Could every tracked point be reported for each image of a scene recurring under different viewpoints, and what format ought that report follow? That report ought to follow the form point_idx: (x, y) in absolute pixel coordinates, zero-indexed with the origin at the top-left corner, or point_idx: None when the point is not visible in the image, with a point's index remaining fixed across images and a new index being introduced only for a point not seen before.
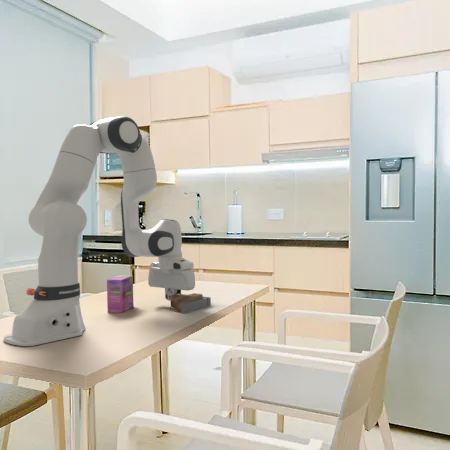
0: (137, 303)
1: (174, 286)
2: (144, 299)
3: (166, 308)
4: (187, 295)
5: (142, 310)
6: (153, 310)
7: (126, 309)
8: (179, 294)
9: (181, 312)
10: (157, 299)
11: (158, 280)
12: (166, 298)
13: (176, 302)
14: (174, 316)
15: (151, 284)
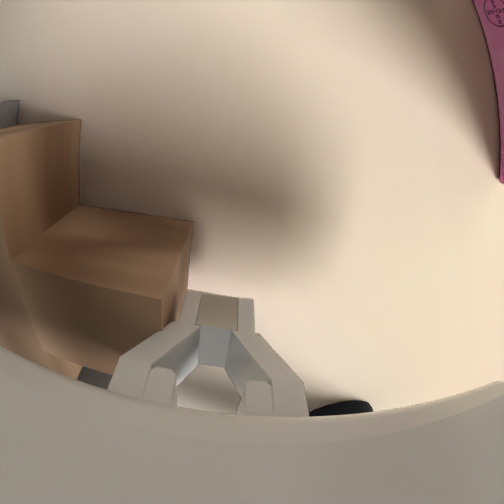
0: (488, 272)
1: (30, 401)
2: (460, 351)
3: (216, 183)
4: (24, 328)
5: (399, 52)
6: (299, 64)
7: (493, 56)
8: (113, 361)
9: (13, 101)
10: (403, 377)
11: (446, 494)
12: (361, 401)
13: (7, 132)
14: (24, 11)
15: (501, 400)
